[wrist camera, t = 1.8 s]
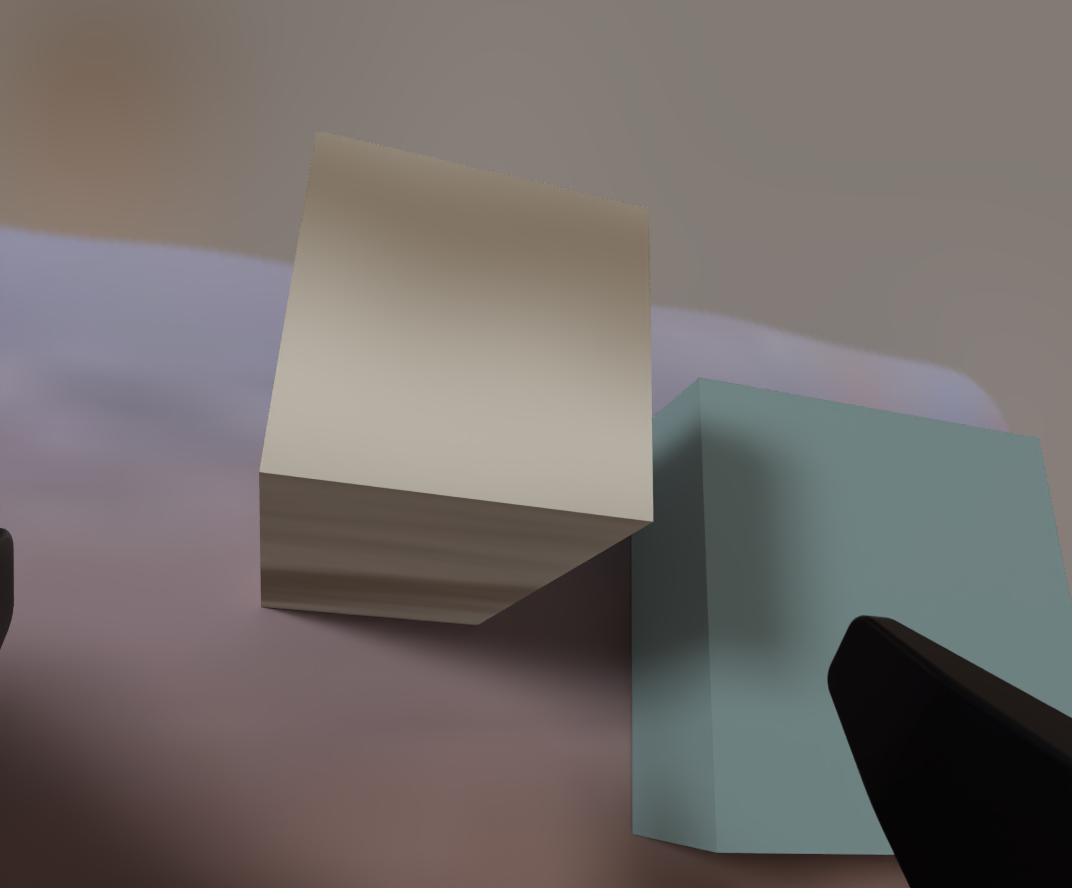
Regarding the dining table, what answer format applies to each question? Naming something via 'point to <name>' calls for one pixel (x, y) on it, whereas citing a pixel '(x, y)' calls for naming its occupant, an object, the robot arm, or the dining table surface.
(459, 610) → the cream block
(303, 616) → the dining table surface
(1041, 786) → the robot arm
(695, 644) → the base block
